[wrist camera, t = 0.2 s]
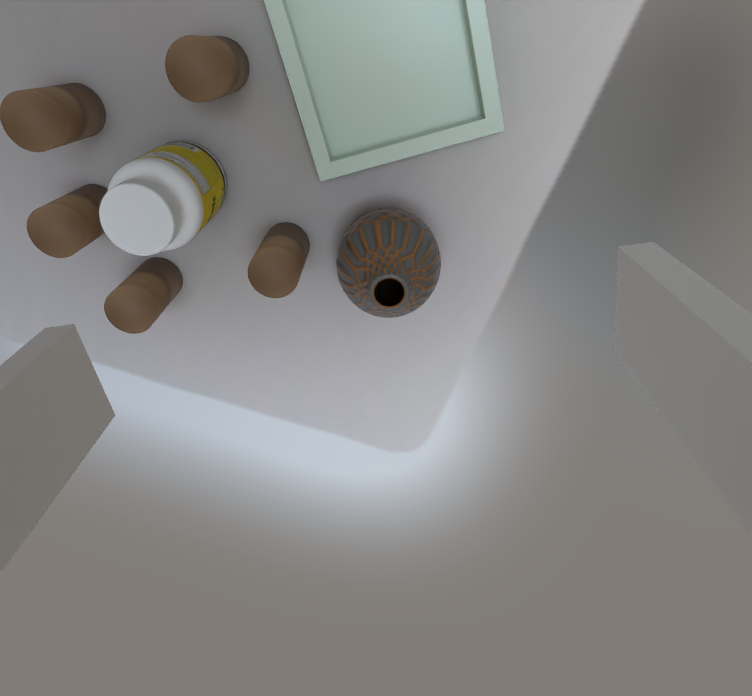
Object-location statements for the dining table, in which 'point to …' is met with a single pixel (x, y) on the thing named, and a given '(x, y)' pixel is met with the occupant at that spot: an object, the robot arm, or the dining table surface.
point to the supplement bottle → (162, 198)
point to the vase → (388, 262)
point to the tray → (387, 77)
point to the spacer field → (81, 207)
